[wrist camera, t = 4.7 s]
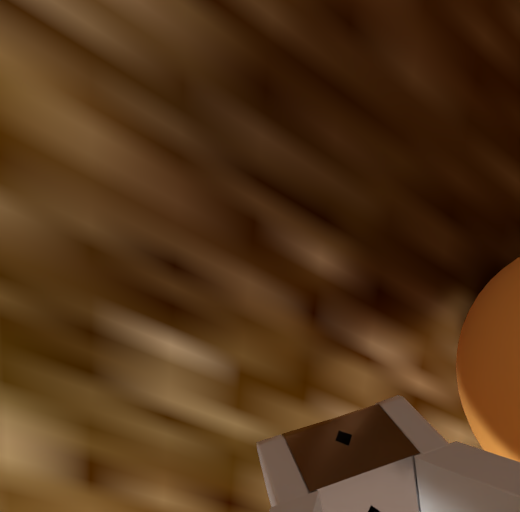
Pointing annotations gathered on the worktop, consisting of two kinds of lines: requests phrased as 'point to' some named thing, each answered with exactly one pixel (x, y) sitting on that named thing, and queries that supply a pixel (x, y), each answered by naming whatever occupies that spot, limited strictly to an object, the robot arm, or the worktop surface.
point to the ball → (493, 364)
